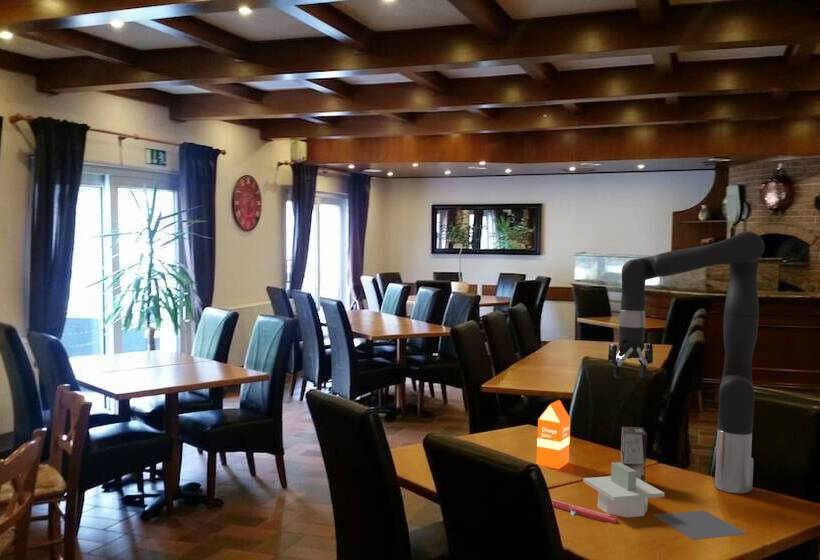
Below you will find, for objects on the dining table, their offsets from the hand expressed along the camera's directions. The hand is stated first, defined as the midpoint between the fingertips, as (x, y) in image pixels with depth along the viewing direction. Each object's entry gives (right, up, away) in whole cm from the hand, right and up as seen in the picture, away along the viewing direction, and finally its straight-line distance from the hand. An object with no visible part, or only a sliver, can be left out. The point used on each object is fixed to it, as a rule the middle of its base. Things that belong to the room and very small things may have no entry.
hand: (629, 377), depth 221 cm
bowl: (-11, -31, -28) cm, 44 cm away
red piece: (-25, -32, -31) cm, 51 cm away
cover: (-11, -26, -28) cm, 40 cm away
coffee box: (-1, -31, -7) cm, 31 cm away
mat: (+6, -32, -38) cm, 50 cm away
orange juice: (-21, -29, +11) cm, 38 cm away
